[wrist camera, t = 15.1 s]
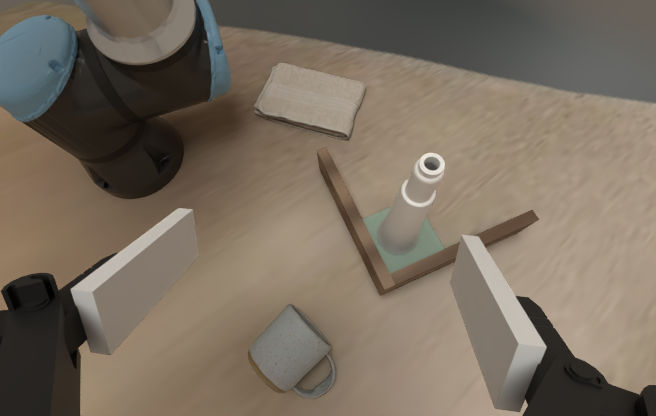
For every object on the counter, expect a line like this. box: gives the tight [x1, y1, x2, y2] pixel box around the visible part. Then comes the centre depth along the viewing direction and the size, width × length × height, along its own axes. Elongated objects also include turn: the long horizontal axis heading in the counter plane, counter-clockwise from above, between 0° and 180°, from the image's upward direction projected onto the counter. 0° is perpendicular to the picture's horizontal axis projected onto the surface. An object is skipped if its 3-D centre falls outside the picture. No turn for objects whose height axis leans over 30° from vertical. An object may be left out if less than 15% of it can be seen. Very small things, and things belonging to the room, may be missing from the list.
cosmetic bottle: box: [377, 153, 445, 255], centre depth 40 cm, size 6×6×22 cm
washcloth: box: [254, 63, 366, 140], centre depth 59 cm, size 12×18×3 cm, turn 72°
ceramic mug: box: [248, 304, 335, 398], centre depth 41 cm, size 11×8×8 cm
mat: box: [363, 206, 445, 274], centre depth 50 cm, size 10×10×1 cm
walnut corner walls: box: [317, 147, 539, 296], centre depth 49 cm, size 22×22×6 cm
